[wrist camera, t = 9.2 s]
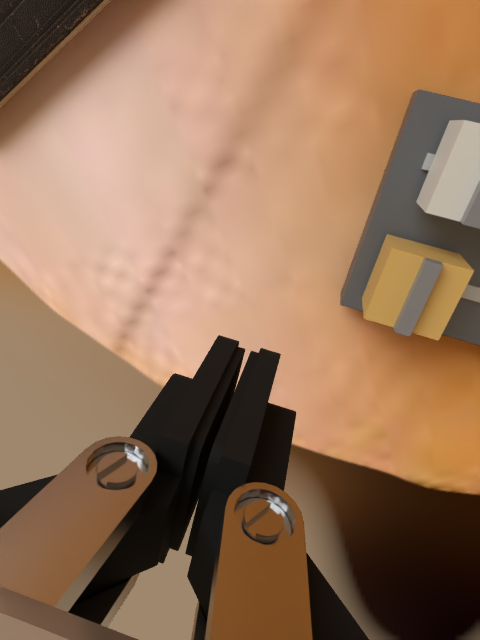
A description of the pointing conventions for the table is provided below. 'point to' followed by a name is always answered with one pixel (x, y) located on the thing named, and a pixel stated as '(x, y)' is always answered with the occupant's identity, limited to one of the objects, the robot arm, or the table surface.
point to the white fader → (455, 175)
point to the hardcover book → (37, 36)
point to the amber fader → (415, 287)
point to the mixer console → (419, 209)
